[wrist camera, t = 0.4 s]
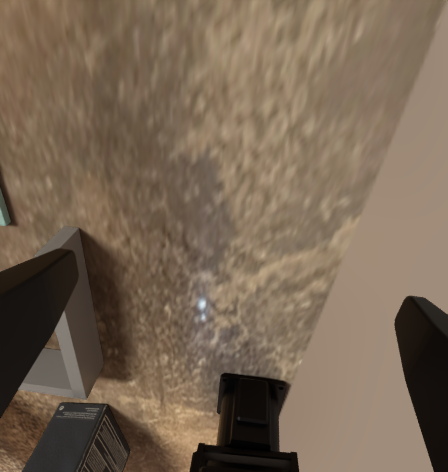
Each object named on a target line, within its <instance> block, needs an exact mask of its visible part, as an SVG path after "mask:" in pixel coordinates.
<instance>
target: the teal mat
mask: <svg viewBox="0 0 448 472" xmlns="http://www.w3.org/2000/svg"><path fill="white" fill-rule="evenodd" d="M10 222H11V221H10V217H9V214H8V211H7V208H6V204H5V201H4V198H3V194H2V191H1V188H0V225H3V226H7V225H8V224H9V223H10Z"/></svg>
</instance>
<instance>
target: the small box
mask: <svg viewBox="0 0 448 472" xmlns="http://www.w3.org/2000/svg"><path fill="white" fill-rule="evenodd" d="M129 454H130V449H129V447H128V445H127V443H126V441H125V439H124V437H123V435H122V433H121V431H120V429H119V427H118V425H117V423H116V421H115V419H114V417H113V415H112V413H111V411H110V409H109V407H108V405H105V404H81V403H60V404H59V406H58V408H57V410H56V412H55V414H54V415H53V417H52V419H51V421H50V422H49V424H48V426H47V428H46V430H45V431H44V433H43V435H42V437H41V439H40V440H39V442H38V444H37V446H36V447H35V449H34V451H33V453H32V455H31V456H30V458H29V460H28V462H27V463H26V465H25V467H24V469H23V471H22V472H123V470H124V467H125V464H126V462H127V459H128V456H129Z"/></svg>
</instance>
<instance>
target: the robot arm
mask: <svg viewBox="0 0 448 472" xmlns="http://www.w3.org/2000/svg"><path fill="white" fill-rule="evenodd" d="M78 279H79V271H78V265H77V259H76V254H75V252H74V251H73V250H71V249H64V248H57V249H54V250H52V251H50V252H47V253H45V254H42V255H40V256H37V257H35V258H33V259H30V260H28V261H25V262H23V263H20V264H18V265H16V266H13V267H11V268H8V269H6V270H3V271H1V272H0V418H1V417H2V415H3V413H4V412H5V410H6V408H7V407H8V405H9V404H10V402H11V400H12V399H13V397H14V395H15V394H16V392H17V391H18V389H19V387H20V386H21V384H22V382H23V381H24V379H25V378H26V376H27V374H28V373H29V371H30V369H31V368H32V366H33V364H34V363H35V361H36V360H37V358H38V356H39V355H40V353H41V351H42V350H43V348H44V347H45V345H46V343H47V342H48V340H49V338H50V337H51V335H52V333H53V332H54V330H55V328H56V326H57V324H58V322H59V320H60V318H61V316H62V314H63V312H64V310H65V308H66V306H67V303H68V301H69V299H70V297H71V295H72V293H73V291H74V289H75V287H76V284H77V282H78ZM395 331H396V336H397V341H398V346H399V352H400V357H401V362H402V367H403V372H404V376H405V381H406V384H407V388H408V391H409V394H410V397H411V400H412V403H413V407H414V410H415V413H416V416H417V419H418V423H419V426H420V429H421V432H422V435H423V438H424V442H425V445H426V448H427V451H428V454H429V457H430V461H431V464H432V467H433V470H434V472H448V314H446V313H445V312H443V311H442V310H441V309H439V308H438V307H437V306H435V305H434V304H433V303H431V302H430V301H428V300H427V299H426V298H423V297H417V296H407V297H406V298H405V299H404V301H403V303H402V305H401V307H400V309H399V312H398V314H397V316H396V318H395ZM285 392H286V383H284V382H282V381H275V380H268V379H261V378H254V377H246V376H239V375H232V374H222V375H221V377H220V386H219V396H218V406H217V413H218V414H220V420H219V428H218V436H217V444H216V446H215V445H205V443H199V445H198V449H197V451H196V452H194V453H193V456H192V461H191V467H190V472H299V466H298V458H297V453H296V452H291V453H286V452H280V451H279V414H280V410H281V406H282V403H283V399H284V395H285Z"/></svg>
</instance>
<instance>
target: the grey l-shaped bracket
mask: <svg viewBox="0 0 448 472" xmlns="http://www.w3.org/2000/svg"><path fill="white" fill-rule="evenodd" d="M57 248H64V249H71V250H73V251H74V252H75V254H76V259H77V265H78V271H79V279H78V282H77V284H76V287H75V289H74V291H73V293H72V295H71V297H70V299H69V301H68V303H67V306H66V308H65V310H64V312H63V314H62V316H61V318H60V320H59V322H58V324H57V326H56V328H55V332H56V335H57V339H58V342H59V346H60V349H61V350H54V349H47V348H43V350H42V351H41V353H40V355H39V356H38V358H37V360H36V361H35V363H34V364H33V366H32V368H31V369H30V371H29V373H28V374H27V376H26V378H25V379H24V381H23V382H22V384H21V386H20V387H19V389H18V390H24V391H30V392H37V393H44V394H51V395H58V396H64V397H71V398H78V399H85V400H87V398H88V396H89V394H90V392H91V390H92V388H93V386H94V384H95V382H96V379H97V377H98V375H99V373H100V371H101V369H102V367H103V365H104V361H103V355H102V350H101V344H100V339H99V334H98V328H97V323H96V317H95V312H94V307H93V301H92V296H91V291H90V285H89V280H88V274H87V269H86V264H85V258H84V253H83V247H82V242H81V237H80V231H79V228H75V227H66V226H64V227H63V228H62V229H61V230H60V231H59V232H58V233H57V234H56V235H55V236H54V237H52V238H51V239H50V240H49V241H48V242H47V243H46V244H45V245H44V246H43V247H42V248H41V249H40V250H39V251H38V252H37V253H36V254H35V255H34V257H37V256H40V255H42V254H45V253H47V252H50V251H52V250H54V249H57Z"/></svg>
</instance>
